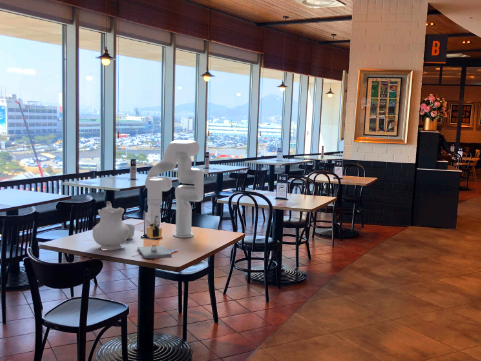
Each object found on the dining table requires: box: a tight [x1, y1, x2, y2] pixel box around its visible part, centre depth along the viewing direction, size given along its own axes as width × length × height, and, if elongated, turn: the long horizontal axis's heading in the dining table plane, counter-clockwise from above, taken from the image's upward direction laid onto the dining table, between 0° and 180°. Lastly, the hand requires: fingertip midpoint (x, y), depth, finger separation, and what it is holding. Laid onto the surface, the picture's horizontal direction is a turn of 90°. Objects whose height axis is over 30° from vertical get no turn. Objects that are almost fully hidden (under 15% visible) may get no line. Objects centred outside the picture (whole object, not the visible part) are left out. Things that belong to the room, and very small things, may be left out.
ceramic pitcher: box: [92, 201, 129, 251], centre depth 259 cm, size 22×20×25 cm
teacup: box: [124, 223, 136, 241], centre depth 279 cm, size 14×11×8 cm
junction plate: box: [136, 243, 172, 259], centre depth 251 cm, size 18×14×5 cm
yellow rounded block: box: [146, 225, 163, 239], centre depth 250 cm, size 6×6×5 cm
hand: (154, 234), depth 250 cm, fingers closed on yellow rounded block, 6 cm apart
